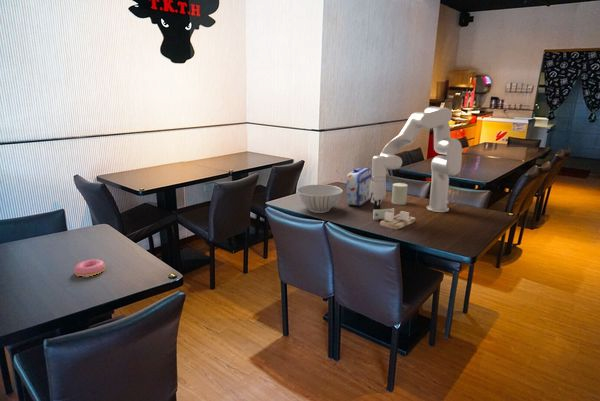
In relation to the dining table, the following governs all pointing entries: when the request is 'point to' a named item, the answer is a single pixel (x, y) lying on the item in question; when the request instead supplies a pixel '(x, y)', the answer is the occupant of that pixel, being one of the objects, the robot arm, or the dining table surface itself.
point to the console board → (397, 222)
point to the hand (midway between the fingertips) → (376, 211)
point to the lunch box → (358, 186)
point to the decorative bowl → (319, 197)
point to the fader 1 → (389, 216)
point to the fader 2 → (404, 215)
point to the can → (399, 193)
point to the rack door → (380, 213)
